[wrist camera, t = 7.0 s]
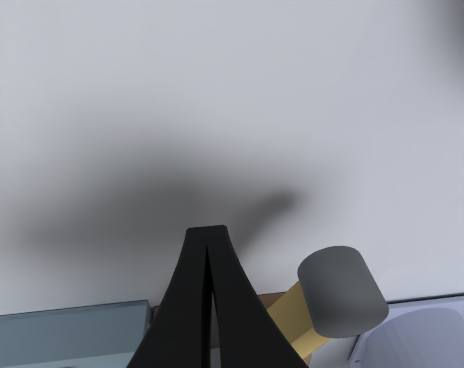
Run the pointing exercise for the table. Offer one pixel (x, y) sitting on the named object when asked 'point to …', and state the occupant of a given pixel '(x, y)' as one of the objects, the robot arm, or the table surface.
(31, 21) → the table surface
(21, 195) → the table surface
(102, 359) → the shallow square tray
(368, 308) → the lever
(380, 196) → the table surface
